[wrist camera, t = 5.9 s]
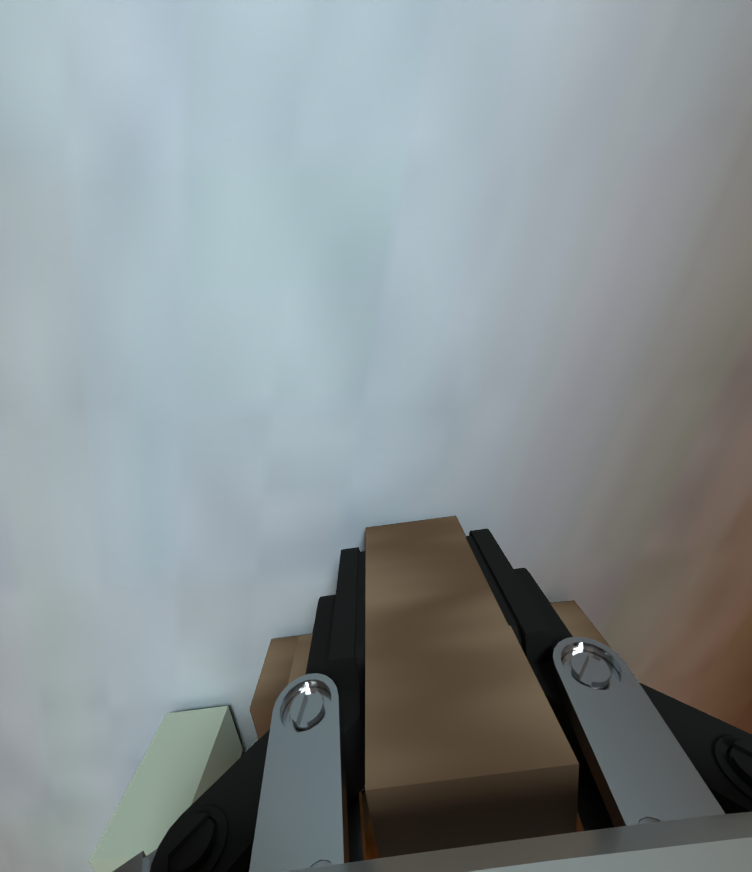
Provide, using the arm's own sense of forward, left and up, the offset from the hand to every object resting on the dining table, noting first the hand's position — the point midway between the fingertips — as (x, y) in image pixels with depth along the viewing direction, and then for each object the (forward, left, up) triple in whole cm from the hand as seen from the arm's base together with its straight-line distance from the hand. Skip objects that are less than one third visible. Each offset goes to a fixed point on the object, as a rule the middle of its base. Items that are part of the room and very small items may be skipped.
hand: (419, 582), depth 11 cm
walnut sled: (0, +8, -1) cm, 8 cm away
